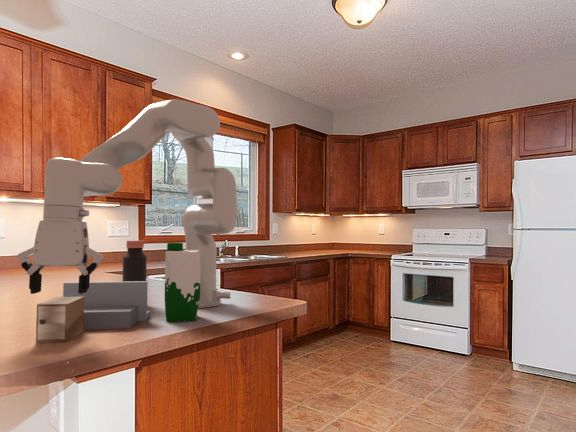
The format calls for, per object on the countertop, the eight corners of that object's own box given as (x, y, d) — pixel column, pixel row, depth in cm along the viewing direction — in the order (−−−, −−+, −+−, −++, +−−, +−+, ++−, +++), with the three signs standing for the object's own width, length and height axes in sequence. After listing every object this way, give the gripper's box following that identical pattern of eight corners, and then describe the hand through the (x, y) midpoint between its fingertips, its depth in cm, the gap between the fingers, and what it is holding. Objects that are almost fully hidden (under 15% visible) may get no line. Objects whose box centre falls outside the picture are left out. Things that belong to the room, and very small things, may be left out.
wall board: (150, 316, 106) (150, 279, 106) (138, 328, 93) (139, 285, 93) (71, 318, 103) (72, 280, 103) (49, 330, 91) (50, 287, 91)
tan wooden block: (83, 331, 90) (84, 296, 91) (65, 343, 81) (66, 304, 81) (55, 332, 90) (56, 297, 90) (33, 344, 80) (35, 305, 80)
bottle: (146, 307, 118) (147, 241, 118) (121, 308, 115) (123, 241, 116) (145, 303, 124) (146, 240, 125) (122, 304, 121) (123, 240, 122)
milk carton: (167, 315, 107) (168, 242, 107) (200, 314, 108) (201, 242, 109) (162, 323, 98) (163, 243, 99) (198, 322, 99) (199, 243, 100)
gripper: (109, 216, 91) (106, 290, 90) (30, 214, 89) (25, 290, 88) (98, 215, 84) (94, 295, 83) (11, 212, 81) (6, 295, 80)
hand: (59, 292), depth 85 cm, fingers open, 9 cm apart
